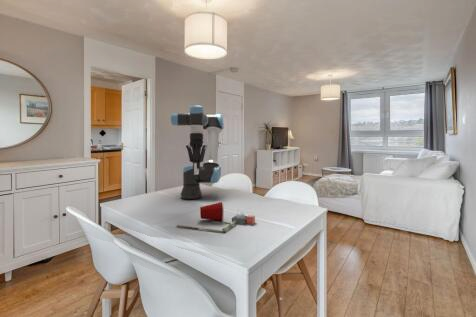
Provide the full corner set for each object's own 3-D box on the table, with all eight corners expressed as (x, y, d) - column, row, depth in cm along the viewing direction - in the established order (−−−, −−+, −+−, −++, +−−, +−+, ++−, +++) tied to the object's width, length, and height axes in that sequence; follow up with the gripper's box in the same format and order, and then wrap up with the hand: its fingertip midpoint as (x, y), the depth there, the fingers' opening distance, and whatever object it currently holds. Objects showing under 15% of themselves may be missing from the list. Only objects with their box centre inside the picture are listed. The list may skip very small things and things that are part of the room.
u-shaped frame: (192, 220, 132) (192, 216, 132) (236, 224, 123) (236, 220, 123) (176, 227, 118) (176, 223, 118) (224, 233, 109) (224, 228, 109)
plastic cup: (200, 227, 123) (224, 225, 125) (200, 207, 121) (224, 205, 123) (200, 218, 134) (222, 216, 136) (199, 199, 131) (221, 198, 133)
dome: (237, 220, 130) (237, 211, 130) (246, 221, 128) (246, 211, 128) (234, 222, 126) (234, 213, 126) (243, 223, 124) (243, 213, 124)
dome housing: (236, 220, 132) (236, 213, 132) (256, 222, 128) (256, 215, 128) (231, 223, 125) (231, 216, 125) (252, 225, 121) (252, 218, 121)
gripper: (183, 132, 138) (183, 174, 138) (203, 132, 134) (203, 175, 134) (190, 134, 145) (190, 173, 145) (209, 133, 141) (209, 174, 141)
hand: (196, 174), depth 140 cm, fingers closed
